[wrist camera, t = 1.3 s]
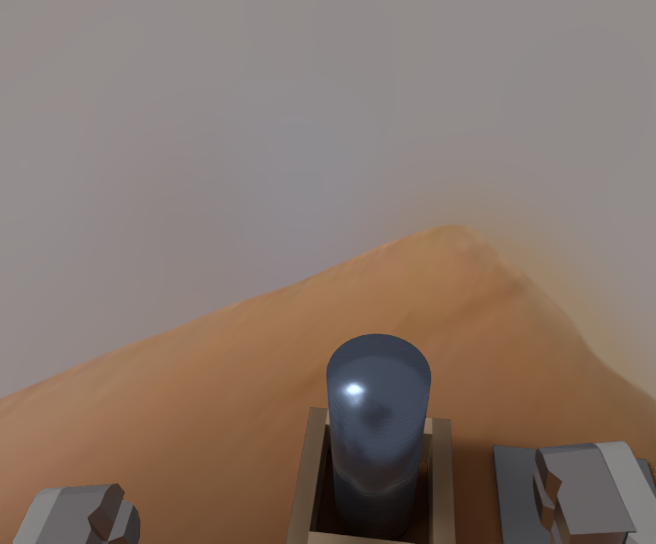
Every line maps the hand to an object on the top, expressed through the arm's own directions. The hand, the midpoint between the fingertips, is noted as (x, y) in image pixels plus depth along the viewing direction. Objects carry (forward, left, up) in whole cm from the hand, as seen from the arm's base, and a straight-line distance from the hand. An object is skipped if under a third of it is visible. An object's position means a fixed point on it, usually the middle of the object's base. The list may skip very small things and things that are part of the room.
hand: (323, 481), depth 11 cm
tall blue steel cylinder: (+1, +11, -25) cm, 27 cm away
